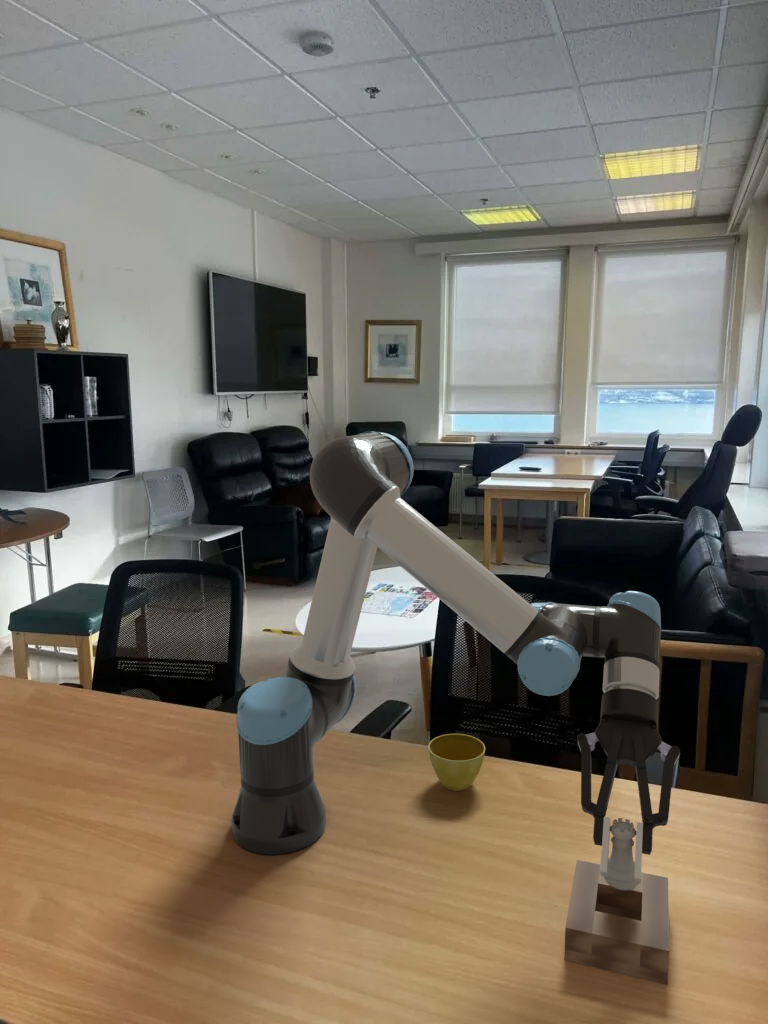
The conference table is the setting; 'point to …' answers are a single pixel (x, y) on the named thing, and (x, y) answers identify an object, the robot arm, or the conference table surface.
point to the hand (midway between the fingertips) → (620, 877)
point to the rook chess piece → (621, 856)
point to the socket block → (619, 924)
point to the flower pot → (456, 759)
